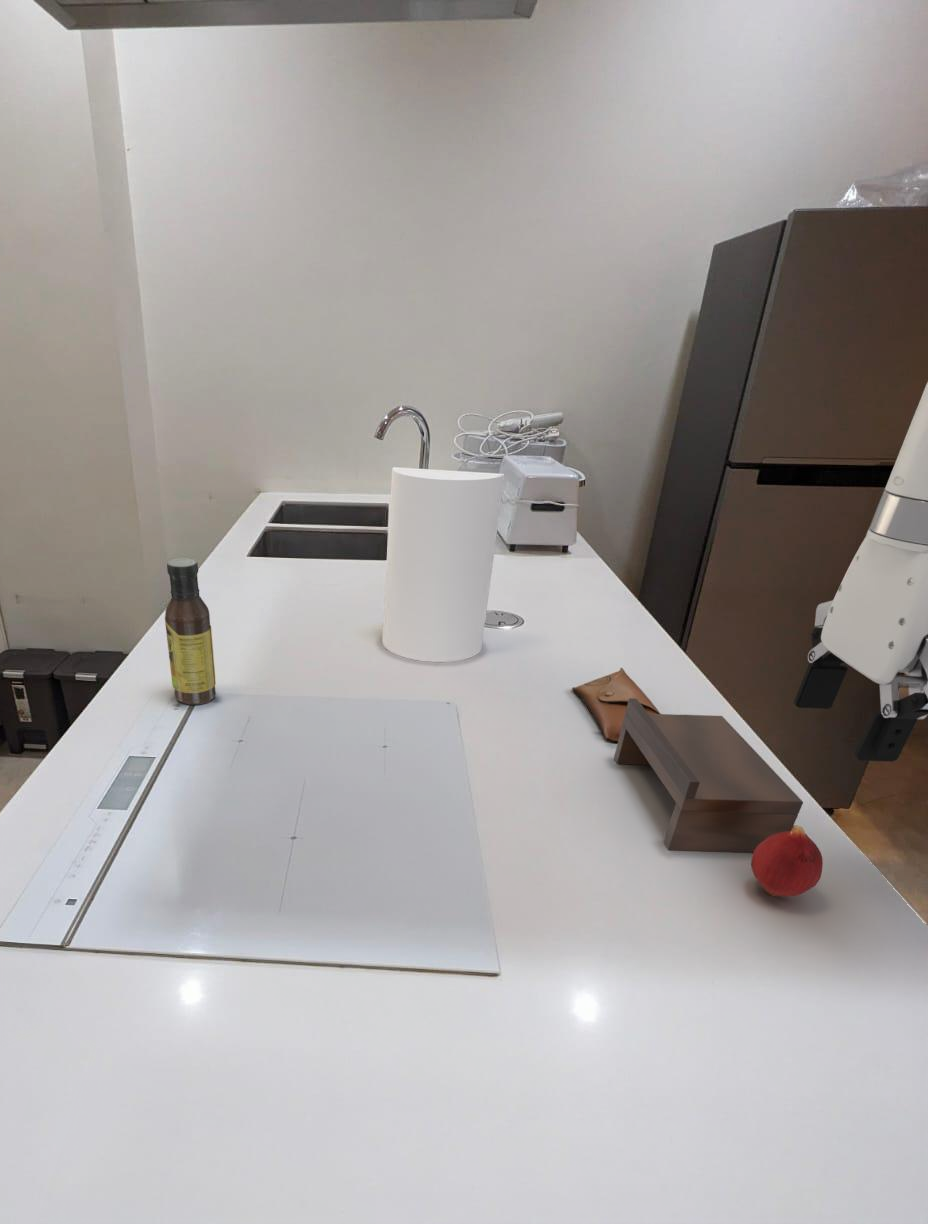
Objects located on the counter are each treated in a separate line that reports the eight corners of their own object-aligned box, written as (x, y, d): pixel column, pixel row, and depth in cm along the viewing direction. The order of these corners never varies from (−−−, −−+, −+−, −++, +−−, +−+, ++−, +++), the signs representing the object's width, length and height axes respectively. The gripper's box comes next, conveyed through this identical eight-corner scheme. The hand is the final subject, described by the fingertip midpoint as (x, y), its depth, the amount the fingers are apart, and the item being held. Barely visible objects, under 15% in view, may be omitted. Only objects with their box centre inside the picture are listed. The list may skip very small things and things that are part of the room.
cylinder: (475, 667, 122) (499, 483, 107) (372, 655, 126) (381, 475, 111) (486, 632, 136) (508, 465, 121) (393, 622, 140) (403, 459, 125)
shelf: (707, 761, 96) (727, 700, 92) (781, 853, 79) (810, 785, 75) (613, 758, 97) (628, 698, 92) (668, 850, 80) (690, 781, 75)
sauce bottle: (182, 687, 113) (169, 552, 103) (221, 690, 112) (213, 555, 102) (167, 704, 108) (151, 565, 97) (208, 708, 107) (198, 568, 96)
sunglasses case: (567, 685, 115) (597, 650, 112) (601, 707, 117) (631, 673, 114) (606, 741, 99) (642, 701, 96) (644, 764, 102) (680, 727, 99)
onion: (807, 888, 75) (838, 822, 70) (805, 921, 70) (837, 853, 66) (743, 869, 77) (769, 804, 73) (737, 900, 73) (765, 833, 68)
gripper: (1081, 555, 48) (953, 785, 57) (910, 502, 62) (830, 691, 71) (962, 551, 48) (853, 781, 57) (820, 498, 62) (751, 688, 71)
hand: (840, 731), depth 64 cm, fingers open, 9 cm apart
